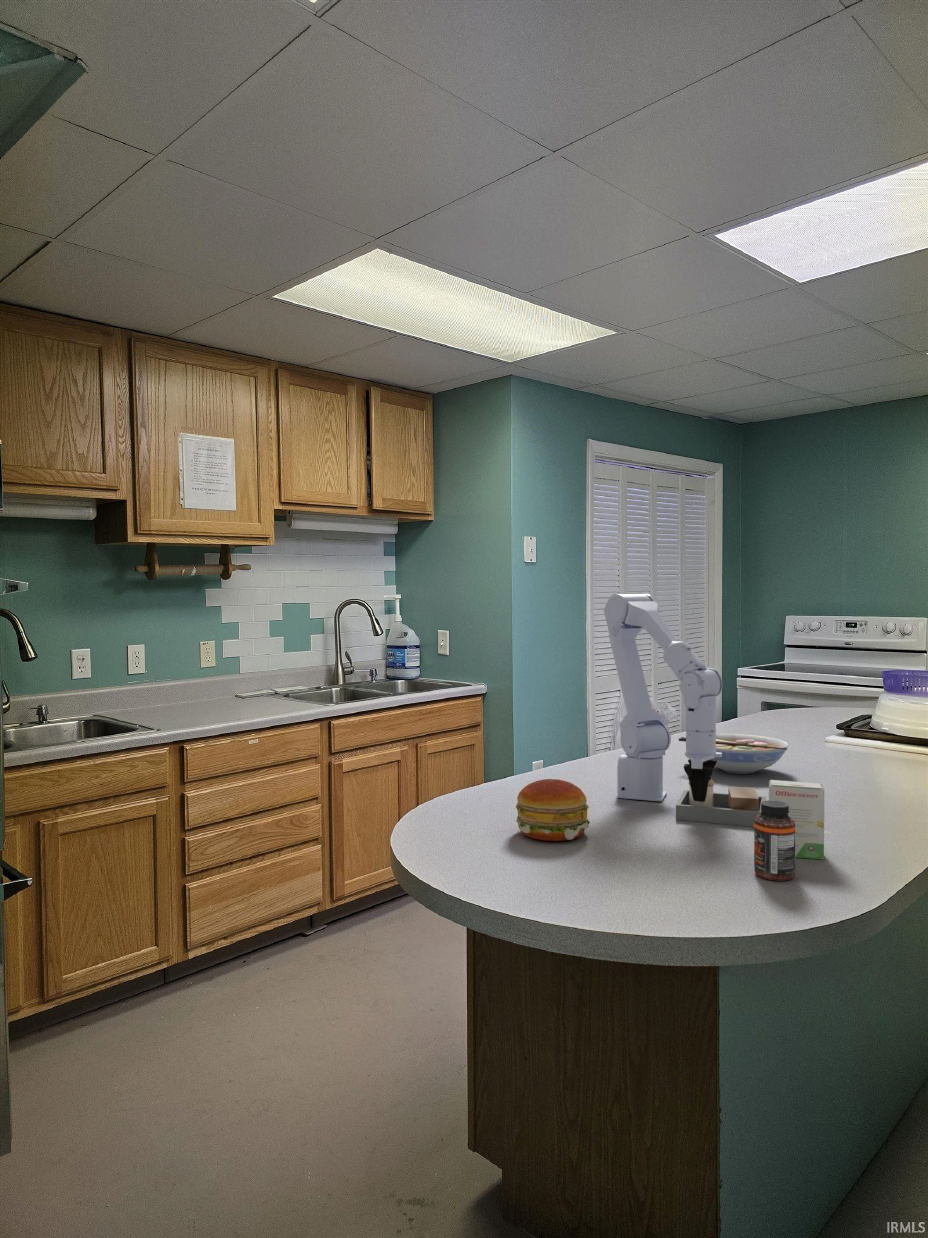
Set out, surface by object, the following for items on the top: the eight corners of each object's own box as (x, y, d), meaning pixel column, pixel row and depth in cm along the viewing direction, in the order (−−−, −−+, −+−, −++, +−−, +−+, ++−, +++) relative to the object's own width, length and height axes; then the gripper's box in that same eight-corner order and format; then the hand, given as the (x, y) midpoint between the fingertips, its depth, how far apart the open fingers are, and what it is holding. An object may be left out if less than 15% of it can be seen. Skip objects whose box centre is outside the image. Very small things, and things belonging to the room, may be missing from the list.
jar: (687, 810, 161) (687, 782, 161) (690, 804, 166) (690, 777, 166) (712, 812, 159) (712, 784, 159) (715, 806, 164) (714, 779, 164)
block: (731, 823, 156) (731, 797, 156) (728, 811, 165) (728, 786, 164) (758, 825, 155) (758, 798, 154) (754, 812, 163) (754, 788, 163)
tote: (675, 819, 158) (675, 805, 158) (684, 803, 170) (684, 790, 170) (763, 827, 152) (763, 812, 152) (766, 810, 164) (766, 796, 164)
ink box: (768, 855, 136) (768, 785, 136) (767, 846, 141) (768, 778, 140) (824, 860, 133) (825, 788, 133) (821, 851, 138) (822, 781, 138)
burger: (502, 829, 152) (502, 776, 152) (566, 821, 158) (565, 769, 157) (537, 850, 140) (537, 792, 140) (604, 840, 145) (604, 784, 145)
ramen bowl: (801, 768, 204) (801, 735, 204) (782, 786, 185) (782, 750, 185) (701, 758, 217) (701, 727, 217) (674, 774, 198) (674, 740, 198)
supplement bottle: (747, 870, 129) (747, 798, 128) (783, 868, 129) (784, 797, 129) (764, 883, 123) (764, 808, 123) (802, 881, 123) (802, 807, 123)
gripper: (718, 737, 154) (718, 808, 154) (724, 725, 167) (724, 791, 168) (680, 734, 157) (680, 805, 157) (689, 723, 170) (689, 788, 170)
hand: (700, 798), depth 162 cm, fingers closed on jar, 4 cm apart
